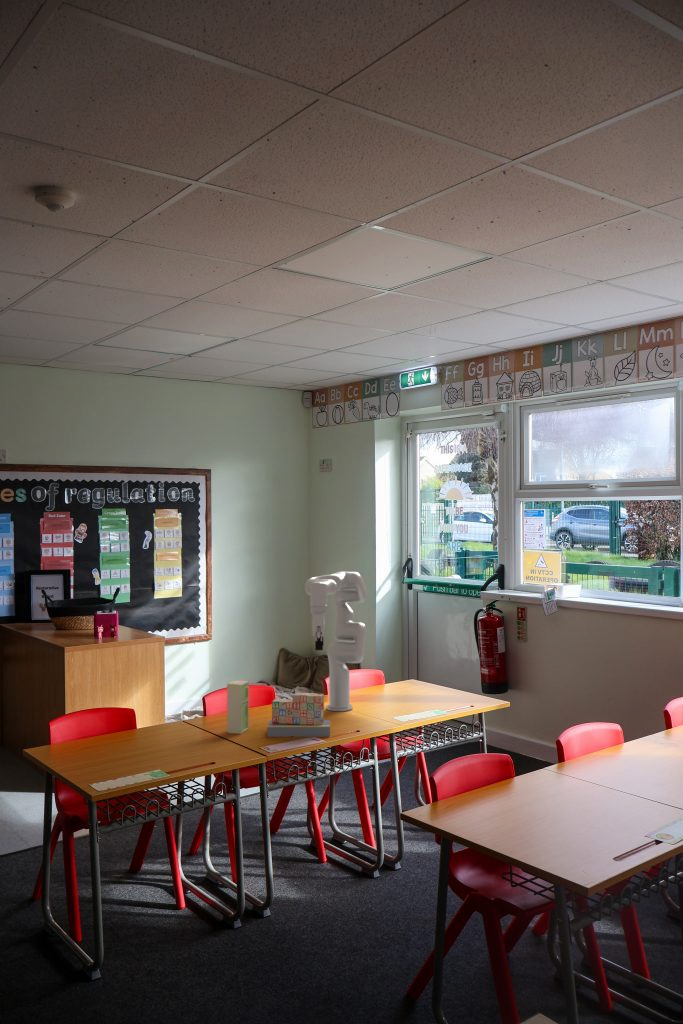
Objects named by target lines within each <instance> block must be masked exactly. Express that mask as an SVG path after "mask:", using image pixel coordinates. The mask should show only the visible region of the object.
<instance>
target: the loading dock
mask: <svg viewBox="0 0 683 1024" xmlns="http://www.w3.org/2000/svg"><path fill="white" fill-rule="evenodd" d="M266 728H267V729H266V730H267V737H268V738H269V737H272V738H273V737H275V738H276V737H277V738H279V737H280V738H282V737H284V738H285V737H286V738H287V737H288V738H290V737H291V736H293V738H294V737H295V738H297V737H301V738H303V737H306V738H307V737H308V738H310V737H311V738H312V737H315V738H317V737H318V738H319V737H325V738H326V737H327V738H329V737H331V720H330V719H324V722H323V724H322V725H303V724H283V723H272V719H271V720H269V721H268V725H267V727H266ZM291 738H292V737H291Z"/></svg>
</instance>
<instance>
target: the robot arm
mask: <svg viewBox="0 0 683 1024" xmlns="http://www.w3.org/2000/svg"><path fill="white" fill-rule="evenodd" d="M304 590H305V593H306V594H307V595H308V596H309V597H310V600H309V603H310V604H309V605H310V606H309V607H310V609H309V610H310V614H312V636H313V637H314V636H315V645H314V646H315V651H323V650H324V635H325V629H326V628H325V625H326V622H325V621H326V619H325V618H326V614H327V613H328V597H331V596H332V599H333V603H334V605H335V606H334V607H335V611H336V617H335V622H334V623H335V624H334V629H333V638H334V639H335V640H336V642H332V643H330V644H329V645H328V646H327V651H326V652H327V659H328V668H329V673H328V675H329V677H328V678H329V680H328V681H329V689H328V691H329V693H328V694H329V699H328V700H329V704H327V705H326V706H325V709H326V710H328V711H330V712H331V711H332V712H348V711H351V710H353V706H354V705H352V704H350V670H349V667H348V666H347V664H360V663H362V662H363V660H364V658H365V657H364V656H365V650H366V644H367V643H366V642H367V636H368V630H367V626H366V624H365V623H364V622H359V621H354V619H355V618H354V617H355V613H354V610H353V609H352V607H351V606H350V605H349V604H351V603H352V604H362V603H365V602H366V601H367V599H368V589H367V587H366V584H365V581H364V579H363V576H362V575H361V574H360V573H359V572H358V571H345V570H344V571H341V570H340V571H337V572H334V573H332V574H324V575H319V576H314V577H310V578H309V579H307V580H306V582H305V584H304ZM348 603H349V604H348Z"/></svg>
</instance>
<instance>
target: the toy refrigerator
mask: <svg viewBox="0 0 683 1024" xmlns="http://www.w3.org/2000/svg"><path fill="white" fill-rule="evenodd" d="M249 685H250V681H248V680H237V679H236V680H233V681H230V682H228V683H227V684H226V689H227V690H226V691H227V693H226V698H227V699H226V701H227V703H226V705H227V707H226V709H227V711H226V714H227V715H226V720H227V723H226V724H227V725H226V730H227V731H226V732H227V733H228V734H237V735H238V734H239V735H241V734H243V733H246V732H247V731H249V726H250V722H249V721H250V719H249V715H250V710H249V708H250V705H249V704H250V703H249V701H250V699H249V698H250V697H249V696H250V694H249V693H250V692H249V691H250V690H249V689H250V686H249Z"/></svg>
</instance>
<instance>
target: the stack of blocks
mask: <svg viewBox="0 0 683 1024" xmlns="http://www.w3.org/2000/svg"><path fill="white" fill-rule="evenodd" d="M324 702H325V694H324V693H315V692H310V693H309V692H295V693H294V694H293V695H292V699H286V698H285V699H284V698H283V699H281V698H275V699H273V700H272V701H271V720H272V723H283V724H303V725H322V724H323V722H324V720H325V718H324V712H325V711H324V709H325V705H324V704H325V703H324Z"/></svg>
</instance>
